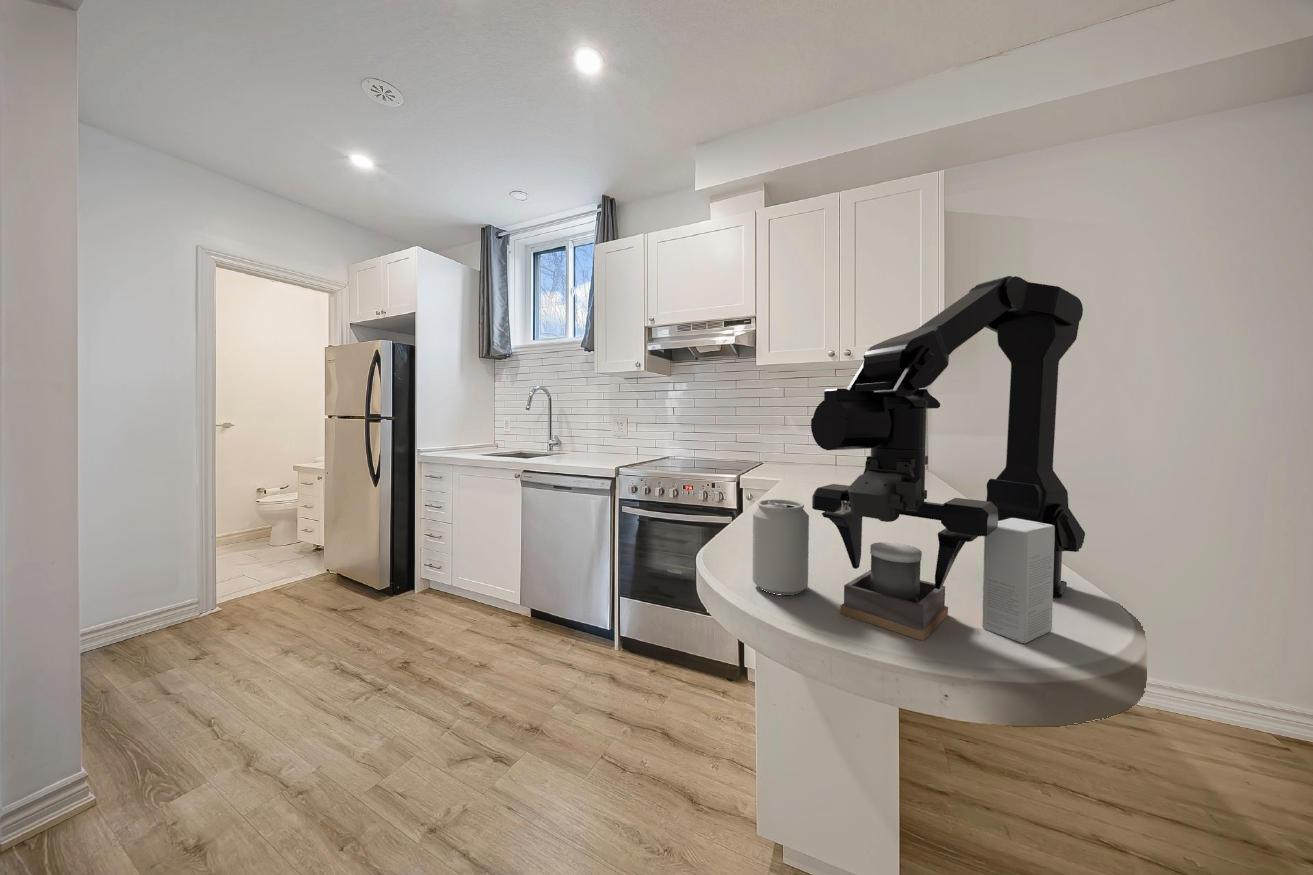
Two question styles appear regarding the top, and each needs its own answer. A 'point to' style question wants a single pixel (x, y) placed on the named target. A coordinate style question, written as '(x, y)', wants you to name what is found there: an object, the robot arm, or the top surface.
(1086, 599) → the top surface
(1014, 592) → the skincare box
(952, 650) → the top surface
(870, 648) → the top surface
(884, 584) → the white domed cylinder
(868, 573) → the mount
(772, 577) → the can
